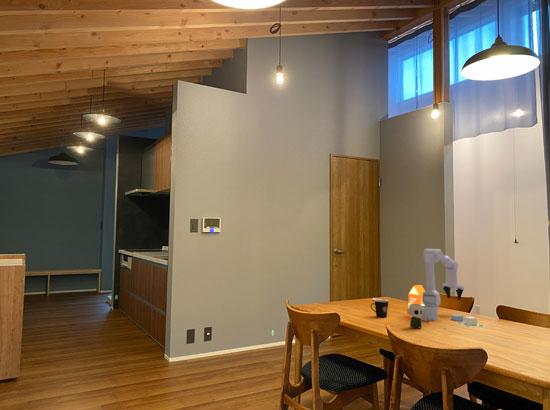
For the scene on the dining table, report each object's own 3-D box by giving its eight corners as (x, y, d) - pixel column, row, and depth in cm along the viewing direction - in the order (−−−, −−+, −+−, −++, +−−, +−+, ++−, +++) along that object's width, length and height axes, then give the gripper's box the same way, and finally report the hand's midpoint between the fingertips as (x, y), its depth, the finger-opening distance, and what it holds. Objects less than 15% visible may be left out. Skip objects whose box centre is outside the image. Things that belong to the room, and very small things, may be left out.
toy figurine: (411, 330, 227) (411, 306, 228) (403, 327, 234) (403, 303, 235) (428, 329, 230) (428, 305, 231) (420, 326, 237) (420, 303, 238)
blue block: (455, 323, 248) (455, 316, 248) (451, 321, 253) (451, 314, 253) (463, 323, 249) (463, 316, 249) (458, 321, 254) (458, 314, 254)
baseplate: (467, 328, 233) (466, 325, 233) (455, 324, 244) (455, 321, 244) (486, 328, 234) (486, 325, 234) (473, 323, 246) (473, 321, 246)
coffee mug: (387, 315, 266) (387, 300, 267) (389, 318, 257) (389, 302, 258) (368, 315, 267) (369, 299, 268) (370, 317, 259) (370, 301, 259)
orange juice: (408, 316, 266) (408, 284, 267) (416, 314, 271) (416, 284, 273) (419, 318, 260) (418, 286, 261) (427, 316, 265) (426, 285, 267)
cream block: (469, 325, 236) (469, 318, 237) (464, 323, 241) (463, 316, 242) (477, 325, 237) (477, 318, 237) (471, 323, 242) (471, 316, 242)
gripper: (466, 278, 270) (467, 299, 270) (446, 276, 282) (447, 295, 282) (459, 280, 266) (461, 301, 266) (439, 278, 278) (441, 297, 279)
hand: (454, 298), depth 274 cm, fingers open, 7 cm apart
